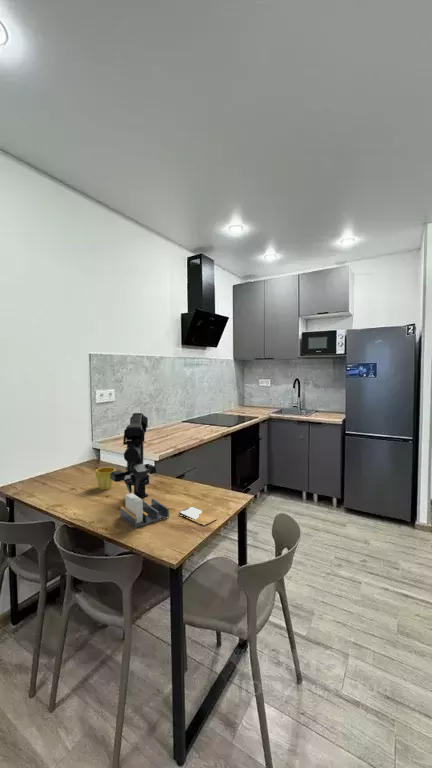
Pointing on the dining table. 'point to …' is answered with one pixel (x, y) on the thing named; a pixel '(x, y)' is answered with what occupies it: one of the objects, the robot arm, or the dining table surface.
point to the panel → (135, 506)
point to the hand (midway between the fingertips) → (133, 492)
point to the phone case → (191, 512)
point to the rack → (146, 514)
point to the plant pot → (104, 477)
